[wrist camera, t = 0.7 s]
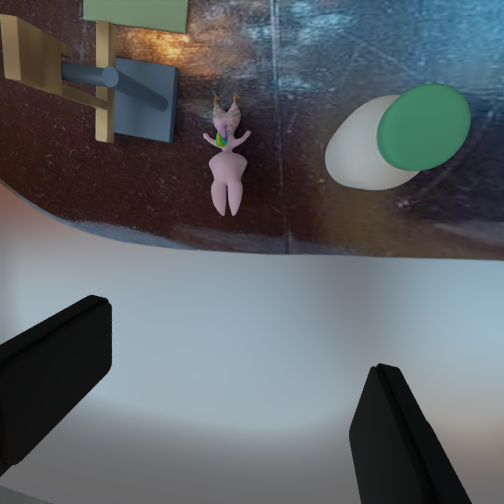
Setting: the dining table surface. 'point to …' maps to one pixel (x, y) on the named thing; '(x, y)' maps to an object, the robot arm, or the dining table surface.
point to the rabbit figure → (227, 158)
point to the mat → (140, 13)
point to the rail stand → (135, 95)
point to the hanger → (58, 66)
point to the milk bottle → (398, 137)
